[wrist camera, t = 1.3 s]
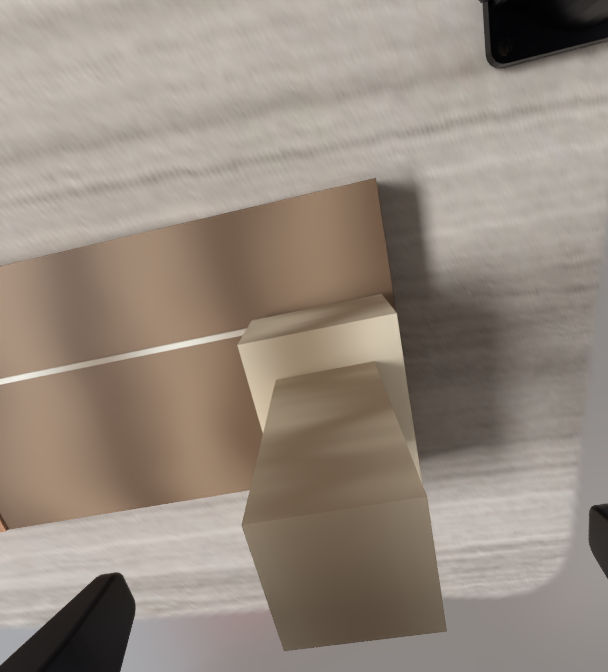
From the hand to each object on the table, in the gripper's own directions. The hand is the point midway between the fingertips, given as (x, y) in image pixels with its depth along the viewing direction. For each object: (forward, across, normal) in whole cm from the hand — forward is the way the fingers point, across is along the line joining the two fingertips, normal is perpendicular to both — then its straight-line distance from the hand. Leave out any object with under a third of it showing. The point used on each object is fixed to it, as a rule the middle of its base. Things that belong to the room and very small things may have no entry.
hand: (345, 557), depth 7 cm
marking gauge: (+10, 0, +2) cm, 11 cm away
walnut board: (+11, +9, -1) cm, 14 cm away
